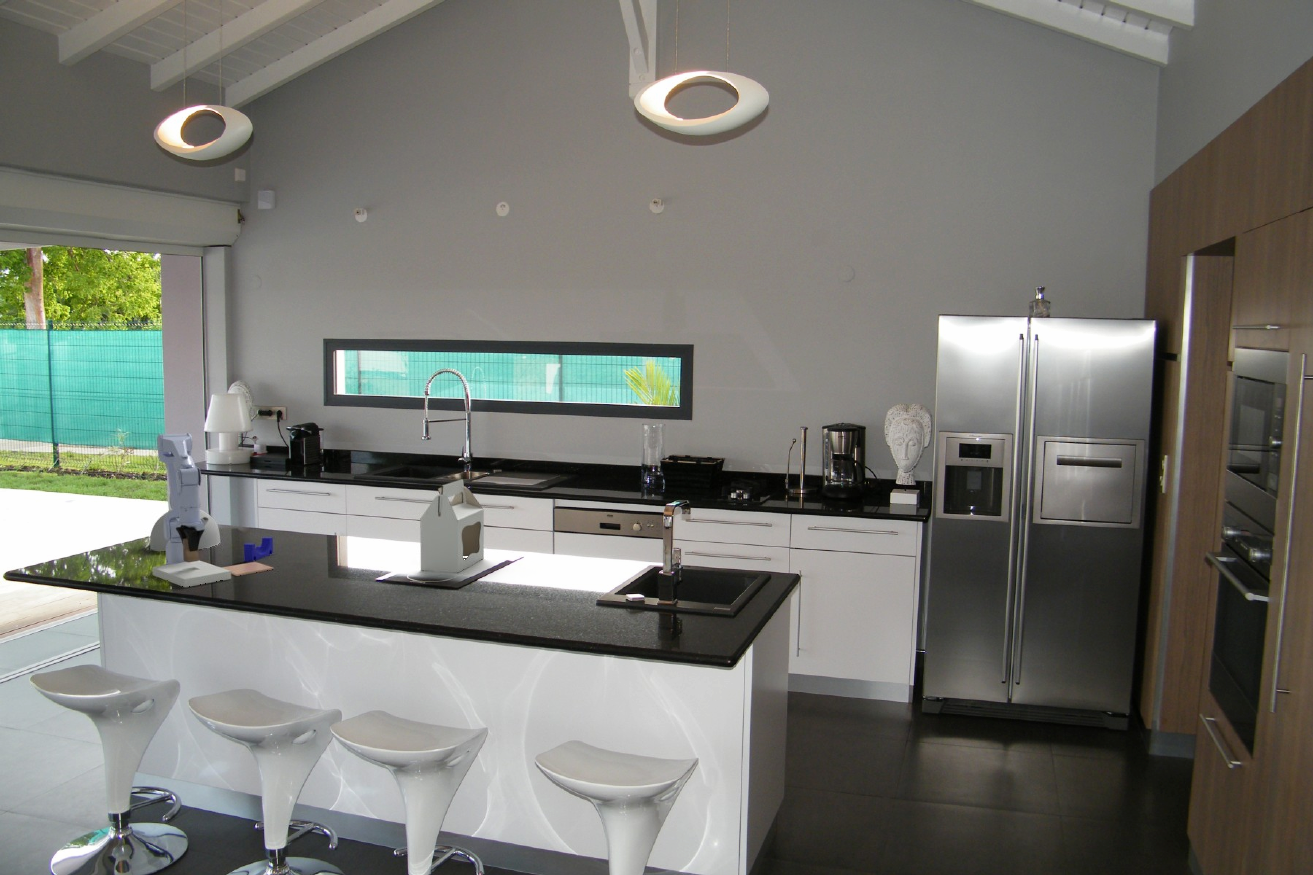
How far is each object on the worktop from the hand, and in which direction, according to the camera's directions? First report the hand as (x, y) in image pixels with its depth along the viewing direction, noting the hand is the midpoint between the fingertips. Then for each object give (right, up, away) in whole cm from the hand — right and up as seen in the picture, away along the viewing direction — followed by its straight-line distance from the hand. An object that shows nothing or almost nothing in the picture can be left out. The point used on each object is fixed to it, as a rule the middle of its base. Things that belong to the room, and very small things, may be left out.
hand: (190, 549), depth 289 cm
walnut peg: (0, -3, 0) cm, 3 cm away
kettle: (-24, -4, +45) cm, 51 cm away
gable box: (+76, -8, +24) cm, 80 cm away
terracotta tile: (+12, -8, +11) cm, 18 cm away
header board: (0, -9, +1) cm, 9 cm away
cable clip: (+8, -6, +29) cm, 31 cm away
